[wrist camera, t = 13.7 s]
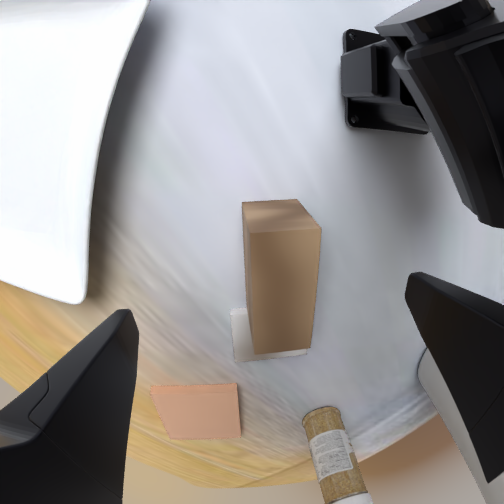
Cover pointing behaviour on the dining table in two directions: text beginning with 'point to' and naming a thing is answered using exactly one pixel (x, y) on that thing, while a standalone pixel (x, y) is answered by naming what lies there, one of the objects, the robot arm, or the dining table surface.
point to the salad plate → (55, 133)
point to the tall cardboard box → (277, 281)
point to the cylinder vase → (457, 427)
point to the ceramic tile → (198, 411)
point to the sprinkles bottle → (334, 458)
